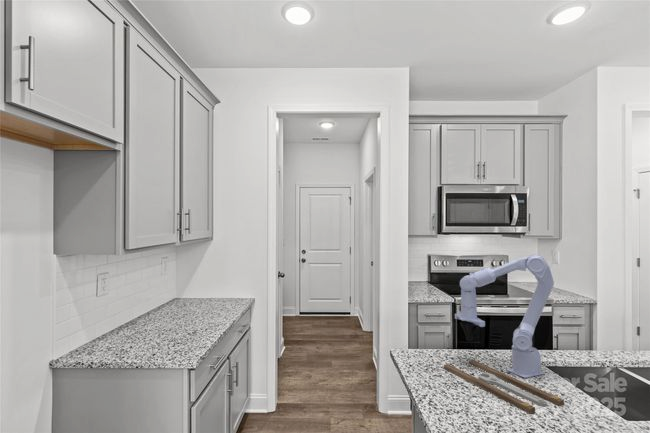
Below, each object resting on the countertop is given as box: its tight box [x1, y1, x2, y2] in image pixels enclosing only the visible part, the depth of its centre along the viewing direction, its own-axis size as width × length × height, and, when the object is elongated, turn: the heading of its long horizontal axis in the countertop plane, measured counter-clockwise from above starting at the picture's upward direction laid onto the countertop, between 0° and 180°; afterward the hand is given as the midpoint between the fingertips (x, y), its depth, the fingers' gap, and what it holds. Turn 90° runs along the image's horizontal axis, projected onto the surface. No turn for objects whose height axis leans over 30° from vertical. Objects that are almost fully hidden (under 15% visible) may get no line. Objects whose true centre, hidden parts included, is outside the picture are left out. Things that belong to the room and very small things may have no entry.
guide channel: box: [443, 359, 565, 415], centre depth 128 cm, size 14×38×2 cm, turn 21°
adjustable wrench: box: [477, 372, 548, 408], centre depth 123 cm, size 25×6×2 cm, turn 19°
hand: (469, 340), depth 147 cm, fingers closed
